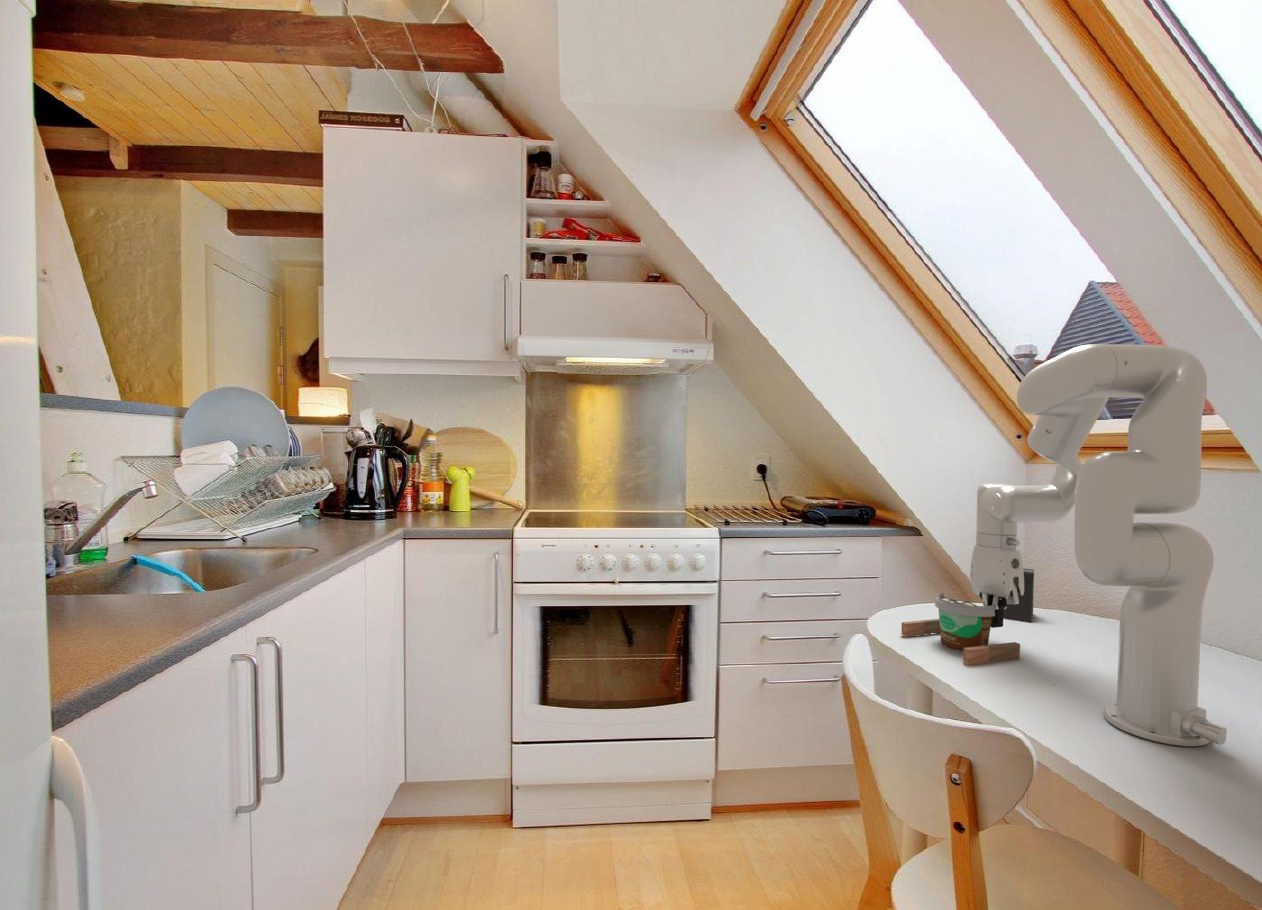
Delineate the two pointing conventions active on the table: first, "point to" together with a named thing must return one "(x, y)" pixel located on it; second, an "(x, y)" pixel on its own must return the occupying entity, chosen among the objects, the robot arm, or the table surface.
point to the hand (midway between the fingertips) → (994, 625)
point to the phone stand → (1023, 601)
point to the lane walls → (971, 653)
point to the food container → (963, 623)
